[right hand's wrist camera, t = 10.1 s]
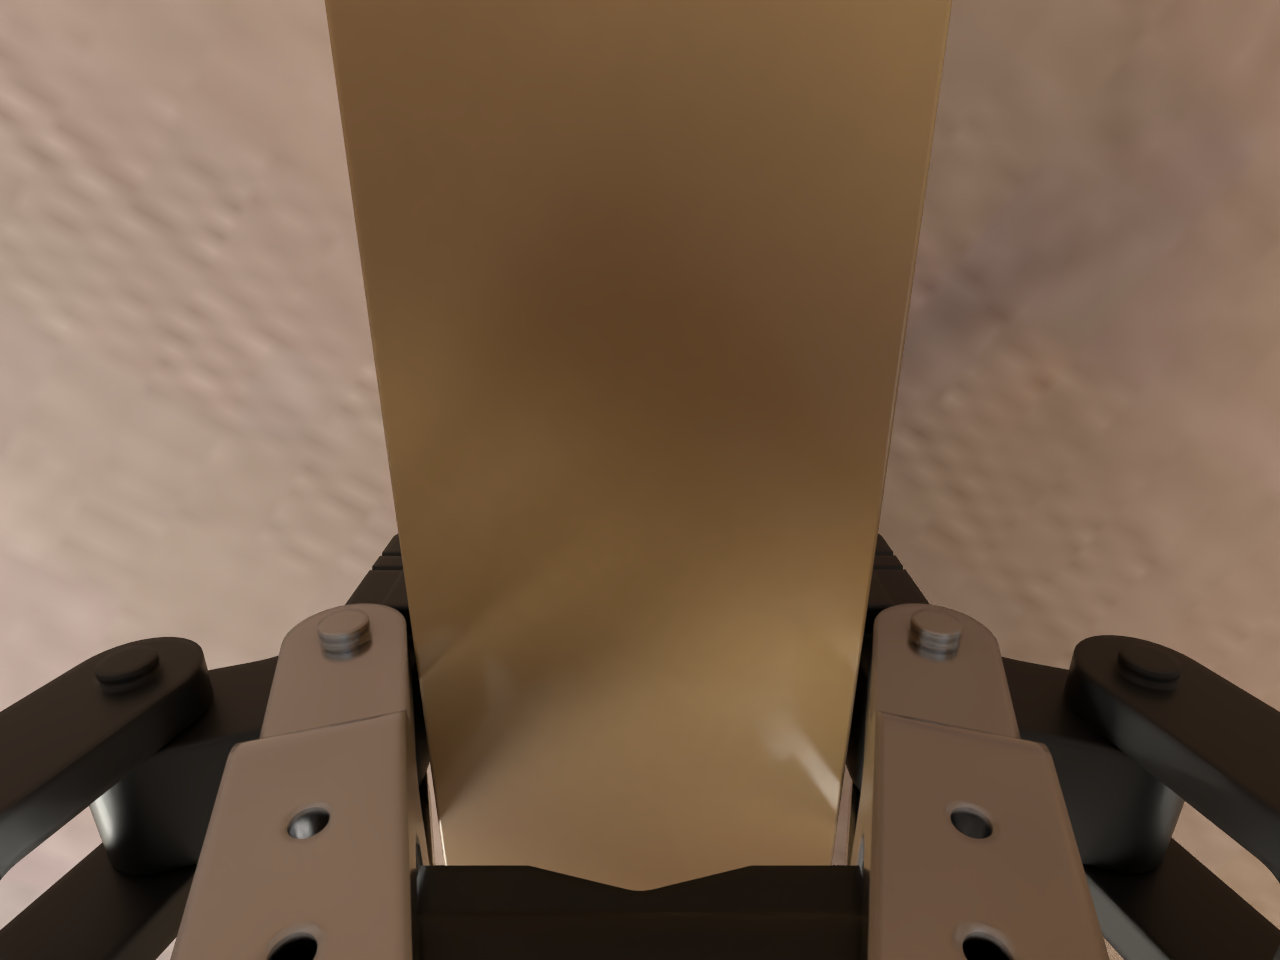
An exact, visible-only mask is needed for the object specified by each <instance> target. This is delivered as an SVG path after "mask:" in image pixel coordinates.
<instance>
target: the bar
mask: <svg viewBox="0 0 1280 960" xmlns="http://www.w3.org/2000/svg"><path fill="white" fill-rule="evenodd" d="M325 5H326V12H327V20H328V27H329V34H330V41H331V49H332V56H333V63H334V70H335V78H336V85H337V92H338V99H339V107H340V114H341V121H342V128H343V135H344V143H345V150H346V157H347V164H348V172H349V179H350V186H351V193H352V201H353V208H354V215H355V222H356V230H357V237H358V244H359V251H360V258H361V266H362V273H363V280H364V287H365V295H366V302H367V309H368V316H369V324H370V331H371V338H372V345H373V352H374V360H375V367H376V374H377V381H378V389H379V396H380V403H381V410H382V418H383V425H384V432H385V439H386V447H387V454H388V461H389V468H390V475H391V483H392V490H393V497H394V504H395V512H396V519H397V526H398V533H399V541H400V548H401V555H402V562H403V569H404V577H405V584H406V591H407V598H408V606H409V613H410V620H411V627H412V635H413V642H414V649H415V656H416V664H417V671H418V678H419V685H420V692H421V700H422V707H423V714H424V721H425V729H426V736H427V743H428V750H429V758H430V765H431V772H432V779H433V787H434V794H435V801H436V808H437V815H438V823H439V830H440V837H441V844H442V852H443V859H444V865H529V866H533V867H537V868H541V869H545V870H549V871H554V872H558V873H562V874H566V875H570V876H574V877H578V878H583V879H587V880H591V881H595V882H599V883H603V884H607V885H612V886H616V887H620V888H624V889H628V890H634V891H646V890H652V889H656V888H660V887H664V886H668V885H673V884H677V883H681V882H685V881H689V880H693V879H697V878H702V877H706V876H710V875H714V874H718V873H722V872H726V871H731V870H735V869H739V868H743V867H747V866H751V865H831V864H832V857H833V850H834V843H835V836H836V829H837V821H838V814H839V807H840V800H841V793H842V786H843V779H844V771H845V764H846V757H847V750H848V743H849V736H850V728H851V721H852V714H853V707H854V700H855V693H856V685H857V678H858V671H859V664H860V657H861V650H862V642H863V635H864V628H865V621H866V614H867V607H868V599H869V592H870V585H871V578H872V571H873V564H874V556H875V549H876V542H877V535H878V528H879V521H880V513H881V506H882V499H883V492H884V485H885V478H886V470H887V463H888V456H889V449H890V442H891V435H892V428H893V420H894V413H895V406H896V399H897V392H898V385H899V377H900V370H901V363H902V356H903V349H904V342H905V334H906V327H907V320H908V313H909V306H910V299H911V291H912V284H913V277H914V270H915V263H916V256H917V248H918V241H919V234H920V227H921V220H922V213H923V205H924V198H925V191H926V184H927V177H928V170H929V162H930V155H931V148H932V141H933V134H934V127H935V119H936V112H937V105H938V98H939V91H940V84H941V76H942V69H943V62H944V55H945V48H946V41H947V34H948V26H949V19H950V12H951V5H952V0H325Z"/></svg>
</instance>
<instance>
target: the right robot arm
mask: <svg viewBox="0 0 1280 960" xmlns="http://www.w3.org/2000/svg"><path fill="white" fill-rule="evenodd" d="M429 762H430V758H429V750H428V743H427V736H426V729H425V721H424V714H423V707H422V700H421V692H420V685H419V678H418V671H417V664H416V656H415V649H414V642H413V635H412V627H411V620H410V613H409V606H408V598H407V591H406V584H405V577H404V569H403V562H402V555H401V548H400V541H399V533H398V534H397V535H395V536H394V537H393V538H392V540H391V541H390V543H389V544H388V545H387V547H386V548H385V550H384V551H383V552H382V556H380V557H379V558H378V559H377V561H376V562H375V564H374V565H373V566H372V570H370V571H369V572H368V574H367V575H366V576H365V578H364V579H363V581H362V582H361V583H360V585H359V586H358V588H357V589H356V590H355V592H354V593H353V595H352V596H351V597H350V599H349V600H348V602H347V603H346V604H345V605H344V606H339V607H335V608H332V609H328V610H325V611H322V612H320V613H317V614H315V615H313V616H311V617H309V618H307V619H305V620H304V621H302V622H300V623H299V624H298V625H296V626H295V627H294V628H293V629H292V630H290V631H289V632H288V634H287V635H286V636H285V638H284V640H283V642H282V645H281V649H280V653H279V656H276V657H273V658H269V659H265V660H261V661H256V662H251V663H246V664H240V665H235V666H229V667H224V668H219V669H213V670H208V669H207V665H206V662H205V658H204V654H203V651H202V649H201V647H200V646H199V645H198V644H197V643H195V642H193V641H191V640H188V639H185V638H178V637H159V638H150V639H144V640H139V641H135V642H131V643H127V644H124V645H121V646H117V647H115V648H112V649H109V650H107V651H104V652H102V653H100V654H98V655H95V656H93V657H91V658H90V659H88V660H86V661H84V662H82V663H81V664H79V665H77V666H76V667H74V668H72V669H71V670H69V671H67V672H66V673H64V674H62V675H61V676H59V677H57V678H56V679H54V680H52V681H51V682H49V683H48V684H46V685H44V686H43V687H41V688H39V689H38V690H36V691H34V692H33V693H31V694H29V695H28V696H26V697H24V698H23V699H21V700H19V701H18V702H16V703H14V704H13V705H11V706H9V707H8V708H6V709H4V710H3V711H1V712H0V880H1V879H2V877H3V876H4V875H5V874H6V873H7V872H8V871H9V870H10V869H11V868H12V867H13V866H14V865H15V864H16V863H17V862H19V861H20V860H21V859H22V858H24V857H25V856H26V855H27V854H29V853H30V852H31V851H32V850H34V849H35V848H36V847H37V846H39V845H40V844H41V843H42V842H44V841H45V840H46V839H48V838H49V837H50V836H51V835H53V834H54V833H55V832H56V831H58V830H59V829H60V828H61V827H63V826H64V825H65V824H66V823H68V822H69V821H70V820H71V819H73V818H74V817H75V816H76V815H78V814H79V813H80V812H81V811H83V810H84V809H85V808H87V807H88V806H89V807H90V810H91V812H92V815H93V818H94V820H95V823H96V826H97V828H98V831H99V834H100V836H101V839H102V842H103V843H101V844H100V845H99V846H98V847H97V848H96V849H94V850H93V851H92V852H91V853H90V854H89V855H87V856H86V857H85V858H84V859H83V860H82V861H80V862H79V863H78V864H77V865H76V866H75V867H74V868H72V869H71V870H70V871H69V872H68V873H67V874H65V875H64V876H63V877H62V878H61V879H60V880H58V881H57V882H56V883H55V884H54V885H53V886H51V887H50V888H49V889H48V890H47V891H46V892H44V893H43V894H42V895H41V896H40V897H39V898H37V899H36V900H35V901H34V902H33V903H32V904H30V905H29V906H28V907H27V908H26V909H25V910H23V911H22V912H21V913H20V914H19V915H18V916H16V917H15V918H14V919H13V920H12V921H11V922H9V923H8V924H7V925H6V926H5V927H4V928H2V929H1V930H0V960H156V959H157V958H158V956H159V955H160V954H161V953H162V952H163V951H164V950H165V949H166V948H167V947H168V946H169V944H170V943H171V942H172V941H173V940H174V939H175V938H176V937H177V938H176V942H175V945H174V949H173V952H172V956H171V959H170V960H1110V959H1109V956H1108V952H1107V949H1106V945H1105V942H1104V938H1105V939H1106V940H1107V941H1108V942H1109V943H1110V945H1111V946H1112V947H1113V948H1114V949H1115V950H1116V951H1117V952H1118V953H1119V954H1120V955H1121V956H1122V958H1123V959H1124V960H1280V930H1279V929H1278V928H1276V927H1275V926H1274V925H1273V924H1272V923H1271V922H1269V921H1268V920H1267V919H1266V918H1265V917H1264V916H1262V915H1261V914H1260V913H1259V912H1258V911H1257V910H1255V909H1254V908H1253V907H1252V906H1251V905H1250V904H1248V903H1247V902H1246V901H1245V900H1244V899H1243V898H1241V897H1240V896H1239V895H1238V894H1237V893H1236V892H1234V891H1233V890H1232V889H1231V888H1230V887H1229V886H1227V885H1226V884H1225V883H1224V882H1223V881H1222V880H1220V879H1219V878H1218V877H1217V876H1216V875H1215V874H1213V873H1212V872H1211V871H1210V870H1209V869H1208V868H1206V867H1205V866H1204V865H1203V864H1202V863H1201V862H1199V861H1198V860H1197V859H1196V858H1195V857H1194V856H1192V855H1191V854H1190V853H1189V852H1188V851H1187V850H1185V849H1184V848H1183V847H1182V846H1181V845H1180V844H1178V843H1177V842H1176V841H1175V840H1174V839H1173V838H1172V834H1173V831H1174V829H1175V826H1176V823H1177V821H1178V818H1179V815H1180V812H1181V810H1182V807H1183V804H1184V801H1186V802H1187V803H1188V804H1190V805H1191V806H1192V807H1193V808H1195V809H1196V810H1197V811H1198V812H1200V813H1201V814H1202V815H1204V816H1205V817H1206V818H1207V819H1209V820H1210V821H1211V822H1212V823H1214V824H1215V825H1216V826H1217V827H1219V828H1220V829H1221V830H1222V831H1224V832H1225V833H1226V834H1227V835H1229V836H1230V837H1231V838H1232V839H1234V840H1235V841H1236V842H1238V843H1239V844H1240V845H1241V846H1243V847H1244V848H1245V849H1246V850H1248V851H1249V852H1250V853H1251V854H1253V855H1254V856H1255V857H1256V858H1258V859H1259V860H1260V861H1261V862H1262V863H1263V864H1264V865H1265V866H1266V867H1267V868H1268V869H1269V870H1270V871H1271V872H1272V873H1273V875H1274V876H1275V877H1276V879H1277V880H1278V881H1279V883H1280V712H1279V711H1277V710H1276V709H1274V708H1272V707H1271V706H1269V705H1267V704H1266V703H1264V702H1262V701H1261V700H1259V699H1257V698H1256V697H1254V696H1252V695H1251V694H1249V693H1247V692H1246V691H1244V690H1242V689H1241V688H1239V687H1237V686H1236V685H1234V684H1232V683H1231V682H1229V681H1227V680H1226V679H1224V678H1223V677H1221V676H1219V675H1218V674H1216V673H1214V672H1213V671H1211V670H1209V669H1208V668H1206V667H1204V666H1203V665H1201V664H1199V663H1198V662H1196V661H1194V660H1193V659H1191V658H1189V657H1187V656H1185V655H1183V654H1181V653H1179V652H1177V651H1175V650H1172V649H1170V648H1167V647H1165V646H1162V645H1159V644H1156V643H1153V642H1149V641H1146V640H1141V639H1137V638H1132V637H1126V636H1115V635H1101V636H1093V637H1090V638H1086V639H1084V640H1082V641H1080V642H1079V643H1078V644H1077V645H1076V647H1075V650H1074V653H1073V657H1072V661H1071V665H1070V668H1069V670H1066V669H1061V668H1055V667H1050V666H1045V665H1039V664H1034V663H1029V662H1023V661H1018V660H1013V659H1009V658H1005V657H1001V653H1000V649H999V645H998V642H997V640H996V638H995V637H994V635H993V634H992V633H991V632H990V631H989V630H988V629H987V628H986V627H985V626H984V625H982V624H981V623H980V622H978V621H976V620H975V619H973V618H971V617H969V616H967V615H965V614H963V613H960V612H958V611H955V610H952V609H948V608H945V607H941V606H936V605H930V604H929V603H928V601H927V600H926V598H925V597H924V595H923V594H922V593H921V591H920V590H919V588H918V587H917V586H916V584H915V583H914V581H913V580H912V578H911V577H910V576H909V574H908V573H907V571H906V570H903V566H902V564H901V563H900V561H899V560H898V558H897V557H896V556H893V551H892V550H891V549H890V547H889V546H888V544H887V543H886V541H885V540H884V539H883V537H882V536H881V535H880V534H878V535H877V542H876V549H875V556H874V564H873V571H872V578H871V585H870V592H869V599H868V607H867V614H866V621H865V628H864V635H863V642H862V650H861V657H860V664H859V671H858V678H857V685H856V693H855V700H854V707H853V714H852V721H851V728H850V736H849V743H848V750H847V757H846V765H847V768H848V771H849V774H850V776H851V778H852V783H851V790H850V798H849V811H848V825H847V839H846V854H845V865H751V866H747V867H743V868H739V869H735V870H731V871H726V872H722V873H718V874H714V875H710V876H706V877H702V878H697V879H693V880H689V881H685V882H681V883H677V884H673V885H668V886H664V887H660V888H656V889H652V890H646V891H634V890H628V889H624V888H620V887H616V886H612V885H607V884H603V883H599V882H595V881H591V880H587V879H583V878H578V877H574V876H570V875H566V874H562V873H558V872H554V871H549V870H545V869H541V868H537V867H533V866H529V865H435V854H434V840H433V826H432V812H431V798H430V791H429V784H428V777H427V768H428V765H429ZM1103 937H1104V938H1103Z"/></svg>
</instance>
